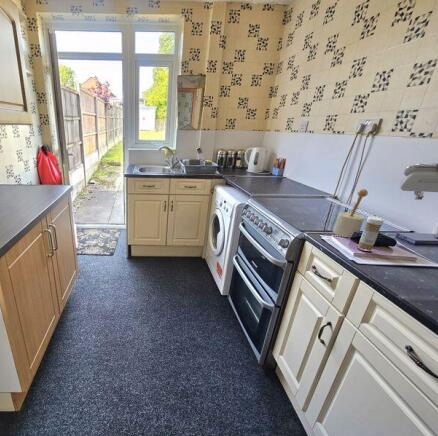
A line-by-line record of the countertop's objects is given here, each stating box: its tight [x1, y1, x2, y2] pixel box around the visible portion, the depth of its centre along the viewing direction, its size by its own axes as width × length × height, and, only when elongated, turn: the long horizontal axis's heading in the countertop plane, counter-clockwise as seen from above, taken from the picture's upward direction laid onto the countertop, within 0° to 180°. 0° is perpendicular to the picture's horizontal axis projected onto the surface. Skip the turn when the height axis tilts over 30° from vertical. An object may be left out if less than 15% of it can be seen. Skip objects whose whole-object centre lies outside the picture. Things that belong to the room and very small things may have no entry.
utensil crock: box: [332, 188, 369, 239], centre depth 106 cm, size 9×9×22 cm
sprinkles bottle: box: [357, 216, 385, 250], centre depth 94 cm, size 5×5×13 cm
